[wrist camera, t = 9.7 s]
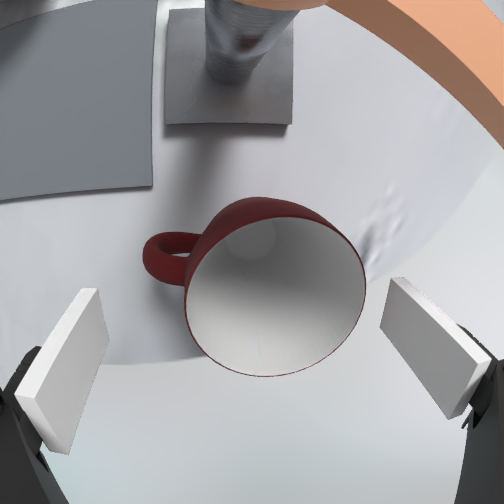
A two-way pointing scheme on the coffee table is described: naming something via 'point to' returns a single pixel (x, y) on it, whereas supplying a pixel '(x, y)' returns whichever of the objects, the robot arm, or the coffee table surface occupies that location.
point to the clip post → (229, 64)
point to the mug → (264, 285)
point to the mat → (77, 99)
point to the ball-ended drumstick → (435, 45)
